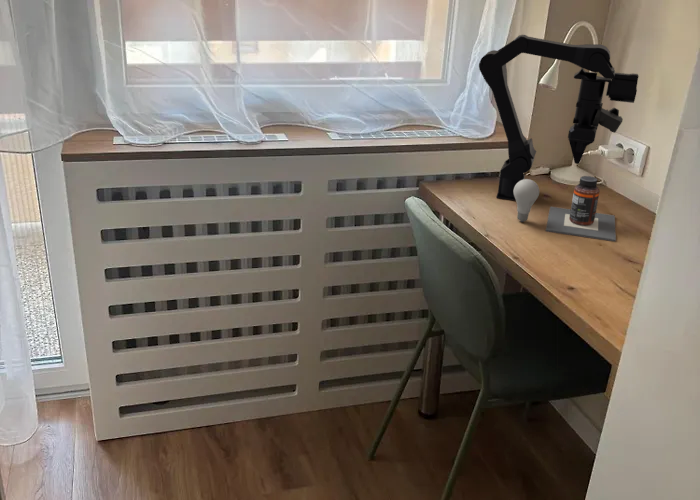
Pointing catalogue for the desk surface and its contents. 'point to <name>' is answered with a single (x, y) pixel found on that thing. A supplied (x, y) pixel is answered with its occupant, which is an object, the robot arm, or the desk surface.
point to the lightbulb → (525, 197)
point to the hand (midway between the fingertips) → (578, 158)
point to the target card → (597, 230)
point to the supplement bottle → (584, 201)
